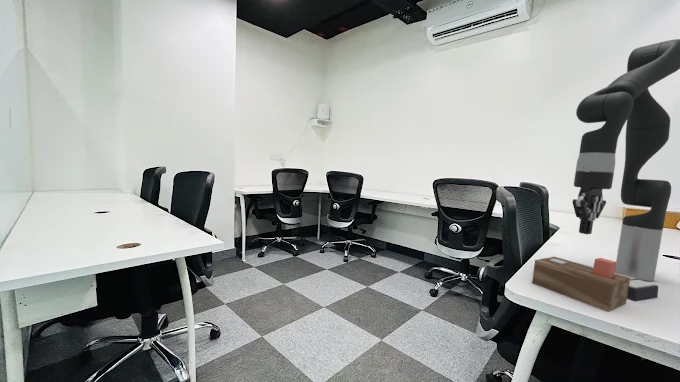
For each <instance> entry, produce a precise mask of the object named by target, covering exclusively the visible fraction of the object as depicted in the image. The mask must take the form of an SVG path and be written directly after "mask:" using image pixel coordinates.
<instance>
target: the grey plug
mask: <svg viewBox="0 0 680 382" xmlns="http://www.w3.org/2000/svg"><path fill="white" fill-rule="evenodd" d="M549 261H550V262H554V263H557V264H560V265H566V264H568V262H565V261H561V260H558V259H551V260H549Z"/></svg>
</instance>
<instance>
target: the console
mask: <svg viewBox="0 0 680 382" xmlns="http://www.w3.org/2000/svg"><path fill="white" fill-rule="evenodd" d="M551 259H558V260H561V261H565V262H568V264H566V265H560V264H557V263H554V262H550V261H549V260H551ZM593 269H594V266H591V265H590V266H589V265H585V264H582V263H578V262H575V261H571V260H568V259H564V258H561V257H557V256H550V257H544V258H539V259H534V266H533V273H532V280H531V283H532V284H535V285H537V286H540V287H542V288H545V289H548V290H550V291H553V292H556V293H558V294H561V295H563V296H566V297H569V298H571V299H574V300H577V301H579V302H582V303H584V304H587V305H590V306H593V307H595V308H598V309H601V310H603V311H606V312H610V311H614V310H615V309H617V308H619V307H621V306H623V305H626V304H627V300H628V299H627V295H628V289H629V283H630V278H629V277H626V276H622V275H618V274H615V275H614V278H612V279H608V278H604V277H601V276H598V275H594V274H593Z"/></svg>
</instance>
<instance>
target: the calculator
mask: <svg viewBox="0 0 680 382" xmlns="http://www.w3.org/2000/svg"><path fill="white" fill-rule="evenodd" d="M615 274H618V273H616V272H615ZM618 275H621V274H618ZM622 276H625V275H622ZM626 277H629V276H626ZM629 278H630V283H629V289H628V295H627V300H630V301H633V302H640V301H645V300H651V299H658V294H659V285H656V283H652V282H650V281H649V282H648V281H646V280H639V279H636V278H633V277H629Z"/></svg>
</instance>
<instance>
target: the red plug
mask: <svg viewBox="0 0 680 382" xmlns="http://www.w3.org/2000/svg"><path fill="white" fill-rule="evenodd" d="M616 263H617V262H616V260H615V261H614V260H611V259H606V258H602V257H599V258H595V259H594V263H593V268H594V269H593V274H594V275H598V276H601V277H604V278H608V279H612V278H614V275H615V273H616V272H615V269H616Z"/></svg>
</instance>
